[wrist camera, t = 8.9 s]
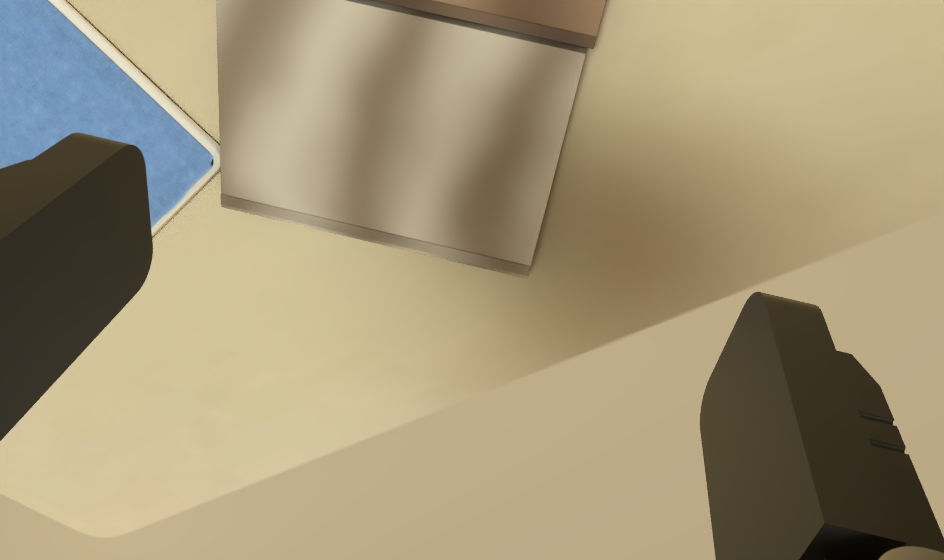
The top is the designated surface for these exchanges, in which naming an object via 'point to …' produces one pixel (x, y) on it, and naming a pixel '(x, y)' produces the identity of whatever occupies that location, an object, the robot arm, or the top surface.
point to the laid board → (524, 16)
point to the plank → (392, 125)
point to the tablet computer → (93, 102)
